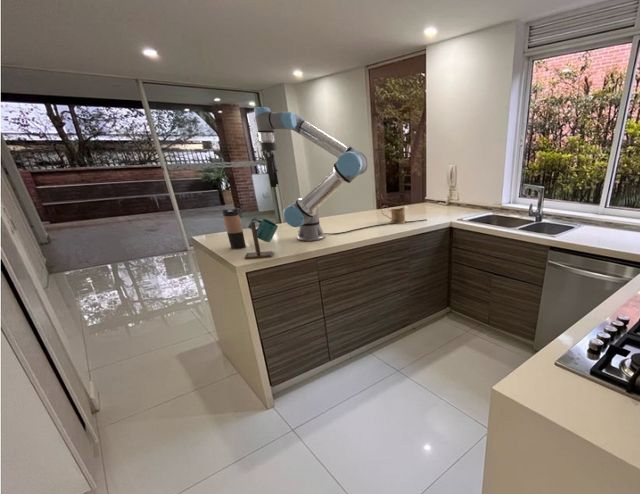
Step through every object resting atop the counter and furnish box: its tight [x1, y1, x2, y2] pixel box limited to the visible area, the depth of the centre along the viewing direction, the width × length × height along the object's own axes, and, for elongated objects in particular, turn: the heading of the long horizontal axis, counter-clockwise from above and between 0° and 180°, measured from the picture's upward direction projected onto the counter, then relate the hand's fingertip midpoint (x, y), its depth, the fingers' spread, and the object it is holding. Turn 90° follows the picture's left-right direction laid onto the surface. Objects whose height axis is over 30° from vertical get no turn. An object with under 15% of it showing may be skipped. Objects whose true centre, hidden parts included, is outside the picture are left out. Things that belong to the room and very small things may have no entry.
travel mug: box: [222, 208, 246, 250], centre depth 183 cm, size 8×8×20 cm
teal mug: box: [247, 217, 279, 243], centre depth 172 cm, size 12×8×9 cm
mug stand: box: [244, 220, 274, 260], centre depth 171 cm, size 12×14×18 cm
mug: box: [380, 205, 407, 225], centre depth 246 cm, size 12×18×12 cm, turn 96°
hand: (274, 185), depth 181 cm, fingers open, 13 cm apart
